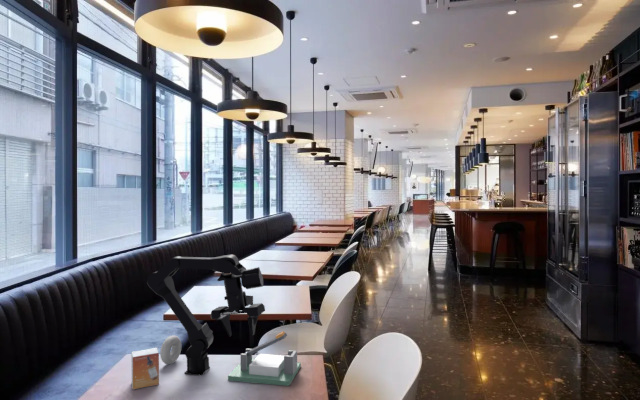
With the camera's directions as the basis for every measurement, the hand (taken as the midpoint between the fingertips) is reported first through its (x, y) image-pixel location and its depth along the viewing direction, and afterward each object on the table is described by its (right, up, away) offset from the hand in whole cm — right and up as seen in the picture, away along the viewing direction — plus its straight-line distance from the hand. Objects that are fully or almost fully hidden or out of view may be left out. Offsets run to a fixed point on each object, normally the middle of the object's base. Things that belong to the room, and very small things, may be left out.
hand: (241, 335), depth 142 cm
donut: (-27, -13, +7) cm, 31 cm away
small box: (-30, -13, -9) cm, 34 cm away
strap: (+9, -4, -2) cm, 9 cm away
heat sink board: (+9, -13, -2) cm, 15 cm away
